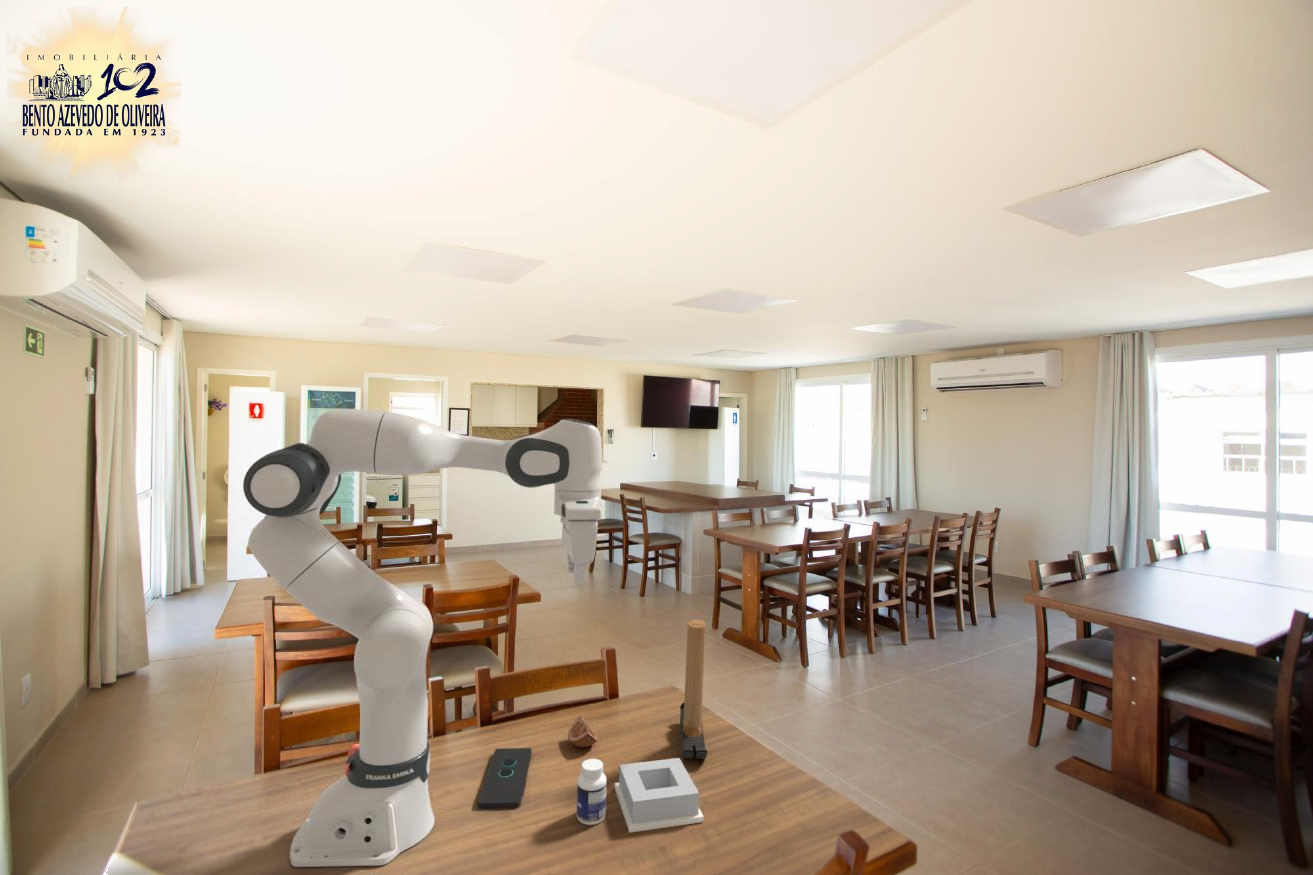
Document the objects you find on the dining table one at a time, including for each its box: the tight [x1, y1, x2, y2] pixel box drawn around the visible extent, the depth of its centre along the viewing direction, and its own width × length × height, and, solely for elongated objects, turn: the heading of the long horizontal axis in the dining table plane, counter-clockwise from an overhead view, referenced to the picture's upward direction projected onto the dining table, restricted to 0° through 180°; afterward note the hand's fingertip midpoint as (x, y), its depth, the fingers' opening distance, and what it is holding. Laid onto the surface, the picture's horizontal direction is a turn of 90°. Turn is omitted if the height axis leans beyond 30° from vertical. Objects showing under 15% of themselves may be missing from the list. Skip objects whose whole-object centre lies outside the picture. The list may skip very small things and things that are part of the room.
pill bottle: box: [576, 758, 608, 826], centre depth 111 cm, size 5×5×10 cm
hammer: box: [679, 619, 708, 760], centre depth 137 cm, size 20×5×30 cm, turn 1°
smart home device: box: [477, 747, 533, 810], centre depth 123 cm, size 8×2×20 cm
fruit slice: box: [567, 716, 598, 748], centre depth 137 cm, size 8×7×5 cm
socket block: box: [614, 757, 705, 834], centre depth 116 cm, size 14×14×5 cm
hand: (575, 577), depth 114 cm, fingers open, 8 cm apart
